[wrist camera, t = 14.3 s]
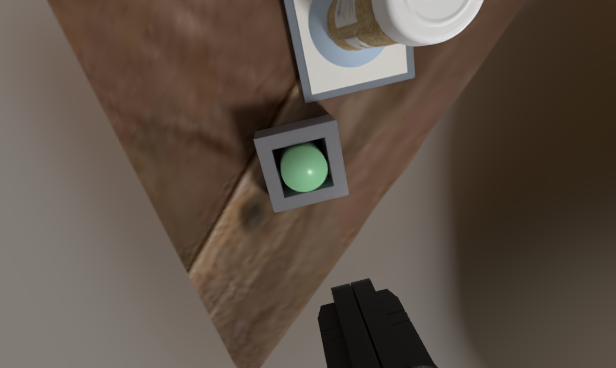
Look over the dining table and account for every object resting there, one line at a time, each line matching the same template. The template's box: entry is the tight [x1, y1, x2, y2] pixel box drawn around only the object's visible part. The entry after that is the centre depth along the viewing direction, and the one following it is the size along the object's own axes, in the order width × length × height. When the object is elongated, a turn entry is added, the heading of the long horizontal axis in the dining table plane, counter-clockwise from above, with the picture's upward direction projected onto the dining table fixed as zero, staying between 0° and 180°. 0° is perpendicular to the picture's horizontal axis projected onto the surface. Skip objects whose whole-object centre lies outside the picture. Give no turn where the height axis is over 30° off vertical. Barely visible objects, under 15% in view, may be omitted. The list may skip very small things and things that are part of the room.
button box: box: [253, 114, 349, 213], centre depth 28 cm, size 7×7×3 cm
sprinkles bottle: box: [326, 0, 483, 51], centre depth 18 cm, size 5×5×13 cm
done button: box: [280, 141, 328, 192], centre depth 27 cm, size 4×4×3 cm
